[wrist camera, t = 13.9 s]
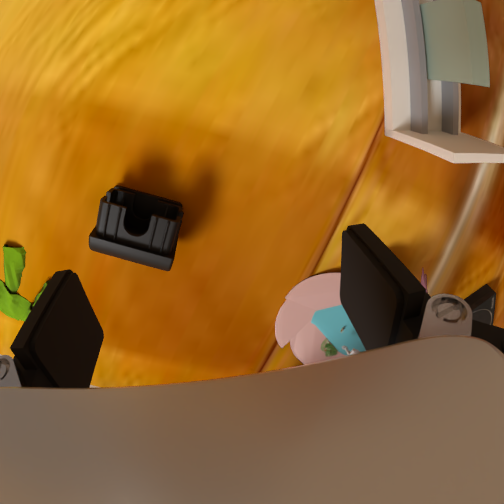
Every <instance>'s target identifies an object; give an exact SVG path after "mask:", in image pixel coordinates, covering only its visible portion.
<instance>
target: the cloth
mask: <svg viewBox="0 0 504 504" xmlns="http://www.w3.org/2000/svg"><path fill="white" fill-rule="evenodd" d="M3 251H4V273H5V282H6V286H7V287H8V290H7V288H6V287H5V284H4V282H3V281H1V280H0V310H1V311H2V312H3V313H4V314H5V315H7V316H9V317H11V318H15V319H17V320H19V319H20V320H21V321H22V320H23V321H25V320H26V318H27V317H28V315H29V313H30V312H31V309H30V308H31V303H30V302H29V301H28V300H26V299H25V298H24V297H22V296H20V295H19V294H16V292H17V290H18V288H19V286H20V281H21V277H22V271H23V269H24V267H25V254H26V252H25V250H24V247H21V248H14V247H8V245H5V244H4V246H3ZM49 281H50V280H49ZM49 281H47V282H46V283H45V284H44V286H43V288H42V290H41V292H40V293H39V294H38V295H37V296H36V297H35V302H34V304H33V306H32V308H33V307H34V305H35V303H36V302H37V300H38V298H39V297H40V295H41V294H42V292H43V290H44V289H45V287H46V286H47V284H48V283H49Z"/></svg>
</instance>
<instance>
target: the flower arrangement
mask: <svg viewBox="0 0 504 504" xmlns="http://www.w3.org/2000/svg"><path fill="white" fill-rule="evenodd" d="M340 279H341V273H325V274H320V275H316V276H313V277H310V278H308V279H306V280H304V281H302V282H300V283H299V284H298V285H296V286H295V287H294V288H293V289H292V290H291V291H290V292H289V293H288V295H287V296H286V297H285V298H286V299H287V300H286V301H285V302H284V304H283V305H282V307H281V308H280V310H279V313H278V315H277V318H276V323H275V335H276V339H277V342H278V344H279V345H280V347H281V348H283V347H284V346H285V345H286V344H287V343H288V342H289V341H290V345H291V349H292V351H293V353H294V355H295V356H296V357H297V358H298V359H299V360H300V361H301V362H302V363H303V364H304V365H305V364H310V363H315V362H320V361H325V360H329V359H334V358H338V357H343V356H347V355H351V354H355V353H360V352H363V351H366V350H365V348H364V346H363V344H362V342H361V340H360V338H359V336H358V334H357V332H356V330H355V328H354V327H353V325H352V323H351V321H350V319H349V317H348V315H347V314H346V312H345V310H344V308H343V306H342V304H341V301H340ZM421 284H422V285H423V287H424V288H425V289H426V292H427V277H426V274H425V275H424V270H423V269H422V278H421ZM427 293H428V292H427Z"/></svg>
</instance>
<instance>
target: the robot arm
mask: <svg viewBox="0 0 504 504" xmlns="http://www.w3.org/2000/svg"><path fill="white" fill-rule="evenodd" d="M340 301H341V304H342V306H343V308H344V310H345V312H346V314H347V315H348V317H349V319H350V321H351V323H352V325H353V327H354V328H355V330H356V332H357V334H358V336H359V338H360V340H361V342H362V344H363V346H364V348H365V350H366V351H363V352H360V353H355V354H351V355H347V356H343V357H338V358H334V359H329V360H325V361H320V362H315V363H310V364H305V365H300V366H295V367H290V368H284V369H279V370H273V371H267V372H261V373H254V374H248V375H241V376H234V377H227V378H219V379H211V380H202V381H193V382H183V383H172V384H160V385H146V386H129V387H105V388H89V386H90V383H91V379H92V376H93V372H94V368H95V365H96V362H97V358H98V355H99V352H100V348H101V345H102V342H103V338H104V334H103V330H102V328H101V326H100V324H99V321H98V319H97V317H96V315H95V313H94V311H93V309H92V307H91V305H90V302H89V300H88V298H87V296H86V294H85V291H84V289H83V287H82V284H81V282H80V280H79V277H78V275H77V274H76V273H73V272H72V271H71V270H70V269H69V270H63V271H57V272H55V274H54V275H53V277H52V278H51V280H50V281H49V283H48V284H47V286H46V287H45V289H44V290H43V292H42V294H41V295H40V297H39V298H38V300H37V302H36V303H35V305H34V307H33V308H32V310H31V312H30V313H29V315H28V317H27V318H26V320H25V322H24V324H23V325H22V327H21V329H20V331H19V332H18V334H17V336H16V338H15V340H14V342H13V343H12V345H11V347H10V349H11V350H12V352H13V353H14V355H15V356H14V358H13V359H12V357H10V356H8V355H2V356H0V504H504V329H503V328H500V327H496V326H493V325H490V324H486V323H483V322H479V321H476V320H473V319H472V310H471V308H470V306H469V305H468V304H467V303H466V302H465V301H464V300H463V299H461V298H459V297H457V296H455V295H452V294H437V295H435V296H432V297H430V296H429V294H428V293H427V292H426V289H425V288H424V287H423V285H422V284H421V283H420V282H419V281H418V280H417V279H416V277H415V276H414V275H413V274H412V273H411V272H410V271H409V270H408V269H407V268H406V266H405V265H404V264H403V263H402V262H401V261H400V260H399V259H398V258H397V257H396V256H395V255H394V253H393V252H392V251H391V250H390V249H389V248H388V247H387V246H386V245H385V244H384V243H383V242H382V241H381V240H380V239H379V238H378V237H377V236H376V235H375V234H374V233H373V232H372V231H371V230H370V229H369V228H368V227H367V226H366V225H365V224H357V225H350V226H348V227H347V230H345V231H343V233H342V257H341V279H340Z"/></svg>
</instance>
